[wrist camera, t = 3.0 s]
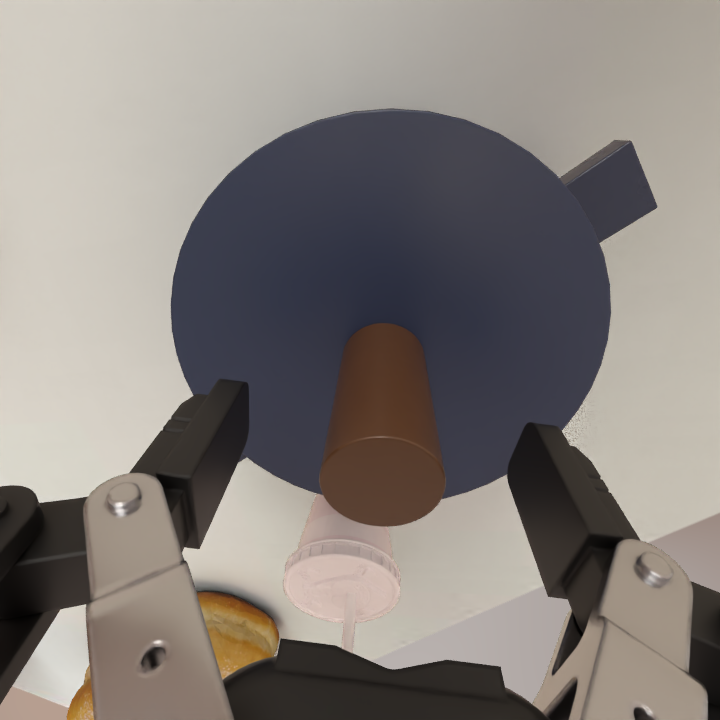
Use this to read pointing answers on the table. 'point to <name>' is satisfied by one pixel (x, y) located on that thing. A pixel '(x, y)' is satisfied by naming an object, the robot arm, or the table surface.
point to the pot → (609, 190)
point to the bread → (213, 642)
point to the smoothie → (342, 570)
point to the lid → (392, 306)
